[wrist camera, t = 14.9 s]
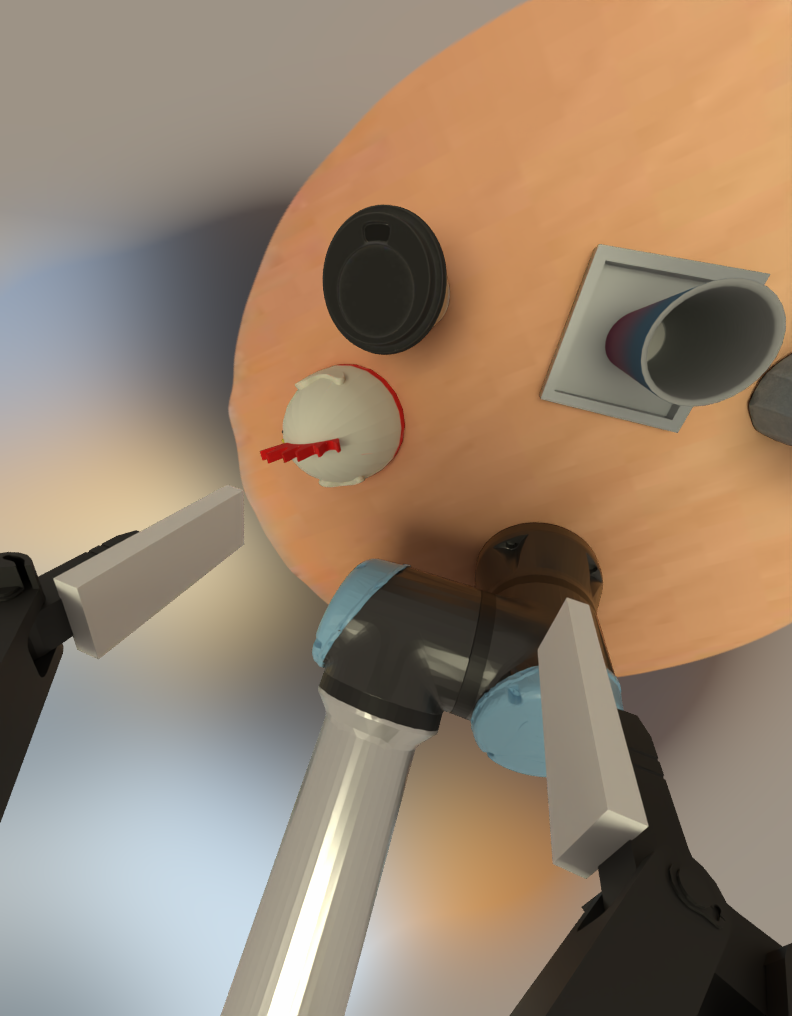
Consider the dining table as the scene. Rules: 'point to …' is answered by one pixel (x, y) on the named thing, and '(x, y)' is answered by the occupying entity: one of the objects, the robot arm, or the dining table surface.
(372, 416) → the kitchen timer
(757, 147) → the dining table surface
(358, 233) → the coffee cup
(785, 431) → the moka pot
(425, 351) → the dining table surface
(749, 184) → the dining table surface
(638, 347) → the cup
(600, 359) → the tray
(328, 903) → the robot arm
